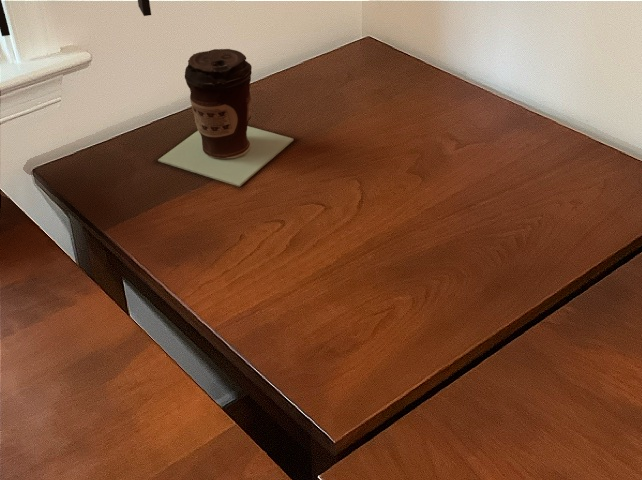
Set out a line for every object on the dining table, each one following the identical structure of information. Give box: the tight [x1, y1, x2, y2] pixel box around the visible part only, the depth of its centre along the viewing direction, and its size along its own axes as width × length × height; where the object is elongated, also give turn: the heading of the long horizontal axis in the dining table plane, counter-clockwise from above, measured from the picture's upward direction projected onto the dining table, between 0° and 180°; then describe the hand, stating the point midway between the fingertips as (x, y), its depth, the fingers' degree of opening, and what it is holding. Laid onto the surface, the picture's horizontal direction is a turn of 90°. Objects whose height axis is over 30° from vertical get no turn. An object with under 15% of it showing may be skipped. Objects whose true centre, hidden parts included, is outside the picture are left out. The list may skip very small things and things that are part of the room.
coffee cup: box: [184, 48, 253, 159], centre depth 106 cm, size 9×8×13 cm
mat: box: [157, 125, 294, 187], centre depth 110 cm, size 13×13×1 cm
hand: (76, 20), depth 82 cm, fingers open, 13 cm apart
